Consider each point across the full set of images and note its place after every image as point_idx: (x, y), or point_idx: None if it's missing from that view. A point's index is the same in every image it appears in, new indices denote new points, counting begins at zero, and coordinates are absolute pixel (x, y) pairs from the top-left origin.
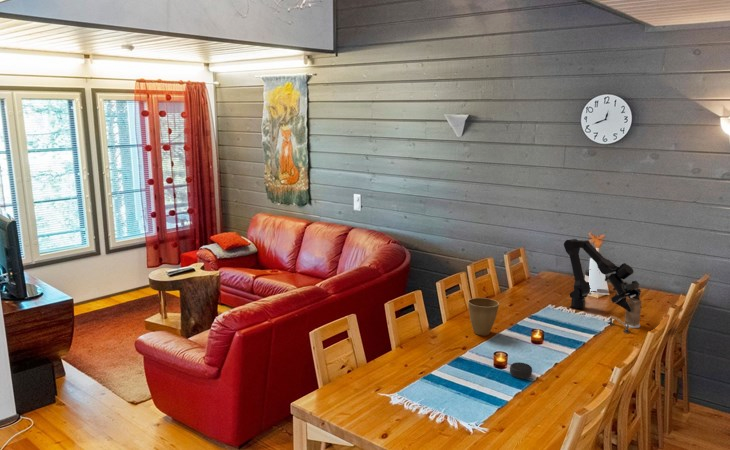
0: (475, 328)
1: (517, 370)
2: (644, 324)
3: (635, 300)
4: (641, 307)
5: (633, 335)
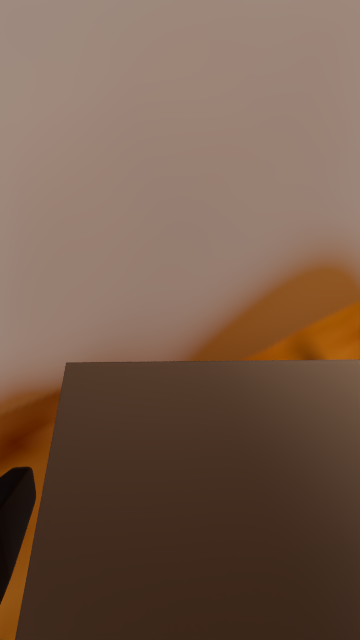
0: None
1: None
2: (47, 456)
3: (325, 503)
4: (19, 468)
5: (337, 347)
